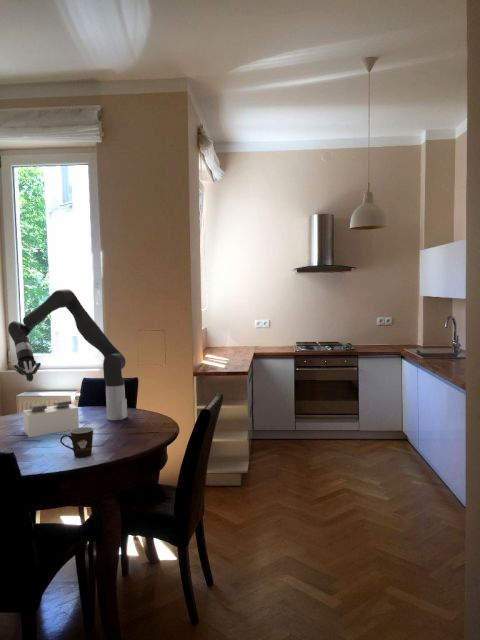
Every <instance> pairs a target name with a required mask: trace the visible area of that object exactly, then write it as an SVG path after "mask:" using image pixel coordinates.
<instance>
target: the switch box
mask: <svg viewBox="0 0 480 640" xmlns="http://www.w3.org/2000/svg"><path fill="white" fill-rule="evenodd" d="M22 419H23V422H22V423H23V432H24V433H25V435H26V436H27V435H28V436H27V437H28V438H34V437H38V436H44V435H50V434H55V433H61V432H62V433H63V432H66V431H71V430H73V429H76V428H80V424H79V421H80V420H79V407H78V406H77V405H74V404H73V403H71V404H69V405H62V406H54V405H51V406H47V409H40V410H31V409H23V410H22Z"/></svg>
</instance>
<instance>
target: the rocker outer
mask: <svg viewBox="0 0 480 640" xmlns="http://www.w3.org/2000/svg"><path fill="white" fill-rule="evenodd" d="M47 405H48V404H47ZM47 405H46V404H44V403H37V404H30V405H29V409H31V410H40V409H47V407H48V406H47ZM29 409H28V410H29Z"/></svg>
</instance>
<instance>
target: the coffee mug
mask: <svg viewBox="0 0 480 640" xmlns="http://www.w3.org/2000/svg"><path fill="white" fill-rule="evenodd" d="M69 431H70V433H69V434H70V435H68V434H65V435H62V436H61V437H60V439H59V440H60V443H61V445H62V446H64V447H65V448H68V449H69V450H72V451H73V456H74V458H76V459H84V458H88V457H91V456H92V455H93V454H92V453H93V441H94V440H93V439H94V428H93V427H89V426H84V427H83V426H82V427H79V428H76V429H73V430H69ZM65 437H66V438H69V439H70V440H71V443H72V446H68V445H67V444H65V443H63V439H64V438H65Z"/></svg>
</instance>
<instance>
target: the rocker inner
mask: <svg viewBox="0 0 480 640" xmlns="http://www.w3.org/2000/svg"><path fill="white" fill-rule="evenodd" d="M69 404H72V400H64V401H56V402H53V406H62V405H69Z"/></svg>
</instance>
